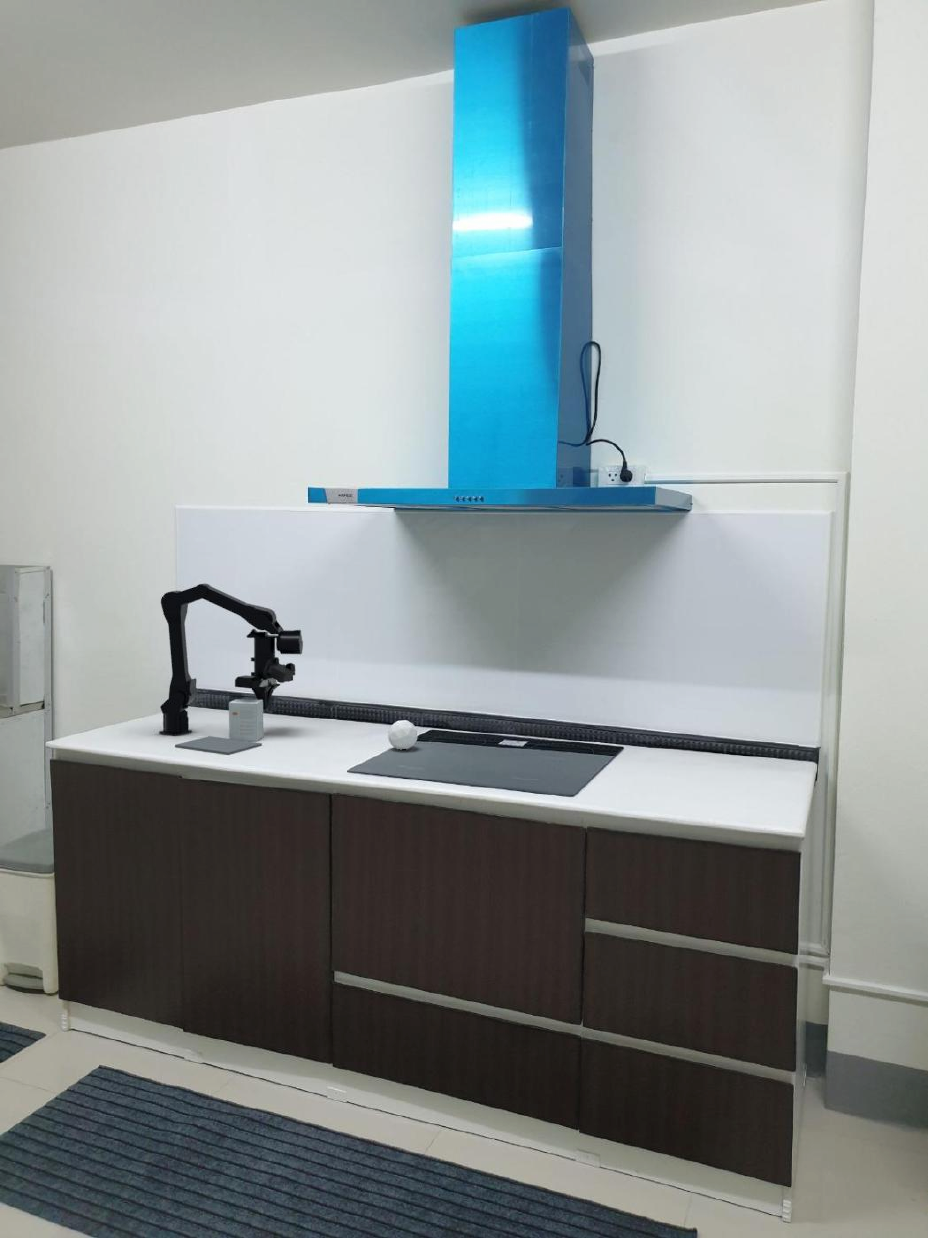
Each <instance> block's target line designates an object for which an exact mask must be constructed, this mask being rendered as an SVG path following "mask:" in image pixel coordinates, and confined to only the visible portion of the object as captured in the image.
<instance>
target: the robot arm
mask: <svg viewBox="0 0 928 1238" xmlns="http://www.w3.org/2000/svg"><path fill="white" fill-rule="evenodd" d="M202 599H203V600H205V601H207V602H209V603H211V604H213V605H216V606H218V607H219V608H221V609H224V610H226V611H229V612H231V613H233V614H234V615H235V614H236V616H238V617H241V618H242V619H243V620H244V621H246V622H247V623H248V624H249V625H251V626H252V627H254V628H253V629H251V630H250V632H249V633H248V634H247V635H246V638H247V639H253V656H252V657H250V662H253V666H254V667H253V671H251V672H250V675H246V674H245V675H241V676H237V677H236V678H235V679H234V687H235V688H244V689H251V691H252V692H253V694H254V696H255V698H256V700H263V711H264V710H265V711H266V710H268V708H269V704H270V702H271V698H272V695H273V693H274V690H277V688H278V687H280V686H281V683H282V684H283V683H287V682H288V683H289V682H291V681H294V676H296V665H295V664H294V663H292V662H287V663H286V664H281V663H280V659H279V657H278V656H276V651H278V652H279V653H280V655H302V653H303V648H304V641H303V637H302V630H301V629H294V630H290V629H289V630H287V629H283V627H282V626H281V624H280V623H279V622H278V620H277V614H276V612H275V610H272V609H271V608H268V607H264V606H261V605H256V604H252V603H247V602H245V601H243V600H241V599H239V598H237V597H235V596H233V595H230V594H228V593H226V592H224V591H222V590H219V589H217V588H215V587H213V586H211V585H210V584H208V583H206V582H205V583H199V584H197V585H195V586H193V587H190V588H187V589H185V590H173V591H168V592H166V593H164V594H163V595H162V596H161V598H160V605H161V606H160V607H161V610H162V612H163V616H164V618H165V621H166V623H167V625H168V626H167V627H168V637H169V639H168V640H169V649H170V660H171V673H172V675H171V679H170V684H169V688H168V689H169V691H168V698H167V700H165V701H164V702H163V703H162V704H161V705H160V711H161V713H162V727H163V729H162V730H160V731H159V732H158V733H159V734H162V735H168V736H169V735H170V736H179V735H183V734H188V733H192V732H193V730H192V729H189V726H190V725H189V724H190V723H189V720H190V719H189V716H188V715H189V714H188V710H187V709H188V708H189V705H190V703H192V702H193V701H194V700H195V698H196V696H197V695H196V694H197V693H198V692H199V690H198V689H197V683H198V682H197V678H196V677H195V678H192V677H191V675H190V672H189V663H188V651H187V637H186V626H185V625H186V624H185V623H186V618H187V615H188V610H189V609H188V607H189V606H188V605H189V604H191V603H192V604H193V603H194V602H196V601H199V600H202ZM256 629H257V630H256ZM258 630H259V631H258ZM277 682H278V683H277Z"/></svg>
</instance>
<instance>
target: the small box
mask: <svg viewBox="0 0 928 1238" xmlns="http://www.w3.org/2000/svg"><path fill="white" fill-rule="evenodd" d="M264 728H265V727H264V710H263V700H258V699H242V698H241V699H238V698H237V699H236V698H235V699H234V700H233V699H232V701H229V702H228V729H229V730H228V732H229V734H228V735H229V736H228V737H229V738H228V739H234V740H241V741H249V742H258V741H260V740H262V739H263V738H264V735H265V734H264Z"/></svg>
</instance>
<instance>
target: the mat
mask: <svg viewBox="0 0 928 1238" xmlns="http://www.w3.org/2000/svg"><path fill="white" fill-rule="evenodd" d="M261 746H263V744H262V742H257V741H241V740H234V739H229V738H226V737H219V736H211V735H209V736H205V737H201V738H197V739H193V740H189V741H184V742H181V743H177V744H174V748H179V749H185V750H186V749H187V750H192V751H198V752H199V751H200V752H208V753H212V754H220V755H221V754H222V755H227V756H229V755H234V754H236V753H240V752H244V751H248V750H252V749H253V748H258V747H261Z"/></svg>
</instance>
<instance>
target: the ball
mask: <svg viewBox="0 0 928 1238" xmlns="http://www.w3.org/2000/svg"><path fill="white" fill-rule="evenodd" d="M387 736H388V737H387V739H388V741H389V743H390V745H391V747H393V748H395V749H396V750H398V749H400V750H399V751H403V750H402V749H406V750H409V749H410V748H412V747H413V746H414V745H415V744H416V742H417V740H418V730H417V728H416V727H415V725H414V724H413V723H412V722H410V721H409V720H406V719H404V720H397V721H395V722H394V723H393V724H392V725H391V726H390V727H389V729H388V731H387Z"/></svg>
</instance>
